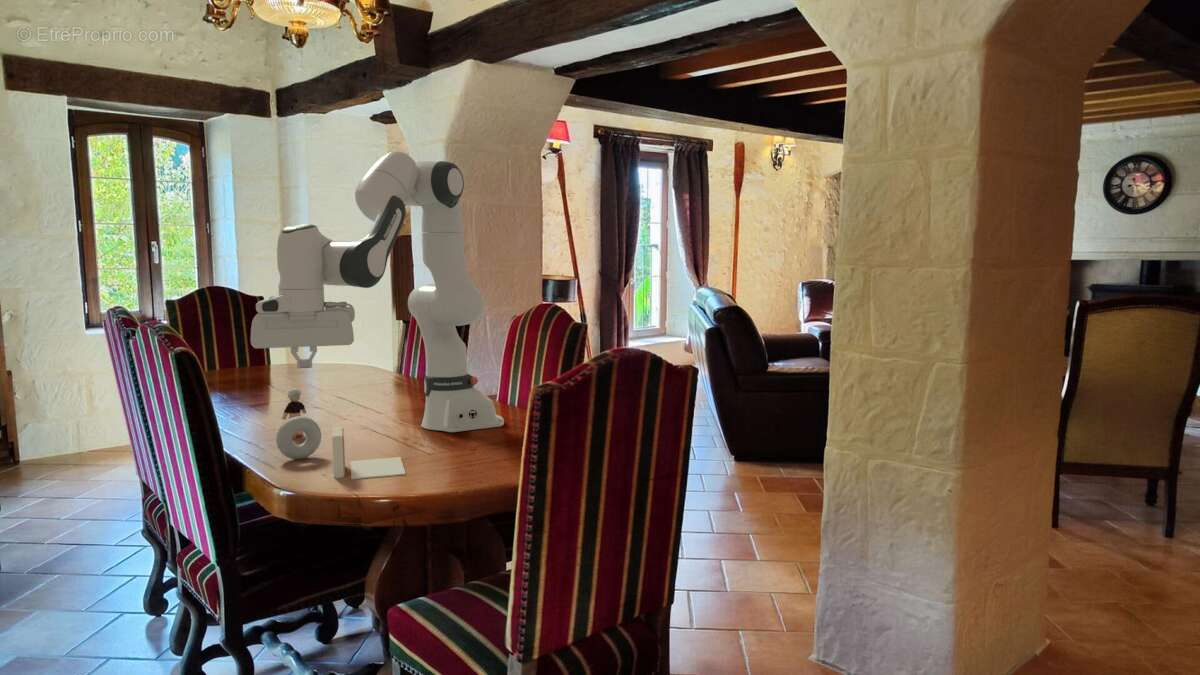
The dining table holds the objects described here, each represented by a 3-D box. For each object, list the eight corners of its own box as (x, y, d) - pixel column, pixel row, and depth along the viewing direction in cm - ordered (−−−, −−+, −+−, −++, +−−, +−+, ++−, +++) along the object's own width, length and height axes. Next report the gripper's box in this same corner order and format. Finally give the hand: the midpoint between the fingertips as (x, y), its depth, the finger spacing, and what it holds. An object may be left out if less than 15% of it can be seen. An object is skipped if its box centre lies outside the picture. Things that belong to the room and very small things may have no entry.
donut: (319, 453, 178) (317, 412, 177) (324, 456, 176) (322, 414, 174) (275, 461, 172) (273, 418, 171) (279, 464, 169) (277, 420, 168)
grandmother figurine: (294, 440, 192) (292, 391, 190) (280, 439, 192) (278, 390, 191) (311, 433, 199) (309, 385, 198) (298, 432, 200) (296, 385, 198)
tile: (345, 466, 168) (343, 426, 167) (345, 477, 160) (343, 435, 159) (334, 467, 167) (332, 427, 166) (333, 478, 159) (332, 436, 158)
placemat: (400, 458, 174) (400, 456, 174) (405, 474, 161) (405, 473, 161) (350, 462, 171) (350, 461, 171) (351, 479, 158) (351, 478, 158)
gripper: (354, 300, 164) (356, 363, 165) (251, 302, 157) (254, 368, 159) (354, 302, 158) (356, 367, 159) (247, 304, 151) (251, 372, 153)
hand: (304, 367), depth 159 cm, fingers closed
